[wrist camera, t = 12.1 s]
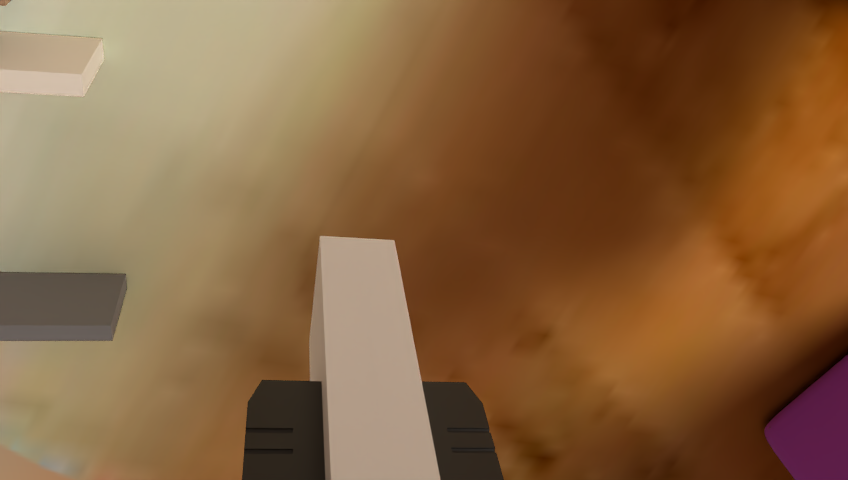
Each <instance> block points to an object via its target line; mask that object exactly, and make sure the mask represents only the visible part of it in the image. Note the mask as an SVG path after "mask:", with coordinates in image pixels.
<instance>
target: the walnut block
mask: <svg viewBox="0 0 848 480" xmlns="http://www.w3.org/2000/svg"><path fill="white" fill-rule="evenodd" d="M10 1H11V0H0V5H2V6H6V5H7V4H8V3H9V2H10Z"/></svg>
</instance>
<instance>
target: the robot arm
mask: <svg viewBox="0 0 848 480" xmlns="http://www.w3.org/2000/svg"><path fill="white" fill-rule="evenodd" d="M309 355H310V381H281V380H262V381H261V383H260V384H259V386H258V387H257V389H256V390H255V392H254V394H253V395H252V397H251V398H250V400H249V401H248V408H247V421H246V435H245V448H244V462H243V476H242V480H504V479H503V476H502V472H501V468H500V465H499V461H498V458H497V454H496V453H495V447H494V443H493V439H492V436H491V433H489V425H488V421H487V418H486V414H485V411H484V407H483V404H482V402H481V401H480V400H479V399H478V397H477V396H476V395H475V394H474V393H473V391H472V390H471V389H470V388H469V386H468V385H467V384H466V383H464V382H422V381H421V376H420V371H419V365H418V360H417V355H416V350H415V345H414V339H413V334H412V329H411V324H410V319H409V313H408V308H407V303H406V298H405V293H404V287H403V282H402V277H401V272H400V267H399V261H398V256H397V251H396V246H395V240H383V239H366V238H349V237H332V236H320V240H319V250H318V260H317V270H316V280H315V289H314V299H313V309H312V319H311V328H310V338H309Z"/></svg>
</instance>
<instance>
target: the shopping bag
mask: <svg viewBox="0 0 848 480" xmlns="http://www.w3.org/2000/svg"><path fill="white" fill-rule="evenodd" d="M764 432H765V437H766V439H767V441H768V443H769V444H770V446H771V448H772V449H773V451H774V452H775V453H776V455H777V456H778V458H779V459H780V460H781V462H782V463H783V464H784V466H785V467H786V468H787V470H788V471H789V472H790V474H791V475H792V477H793V478H794V479H795V480H848V354H847V355H846V356H845V357H844V358H843V359H841V360H840V361H839V362H838V363H837V364H836V365H834V366H833V367H832V368H831V369H830V370H829V371H827V372H826V373H825V374H824V375H823V376H821V377H820V378H819V379H818V380H817V381H816V382H814V383H813V384H812V385H811V386H810V387H808V388H807V389H806V390H805V391H804V392H803V393H801V394H800V395H799V396H798V397H797V398H796V399H794V400H793V401H792V402H791V403H790V404H788V405H787V406H786V407H785V408H784V409H783V410H782V411H780V412H779V413H778V414H777V415H776V416H775V417H774V418H773V419H772V420H771V421H770V422H769V423H768V424H767V425H766V427H765V430H764Z"/></svg>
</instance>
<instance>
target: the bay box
mask: <svg viewBox="0 0 848 480" xmlns="http://www.w3.org/2000/svg"><path fill="white" fill-rule="evenodd" d="M103 61H104V51H103V40H102V38H89V37H75V36H61V35H47V34H33V33H19V32H5V31H0V92H8V93H25V94H43V95H60V96H78V97H84V96H85V94H86V92H87V90H88V89H89V87H90V85H91V83H92V81H93V79H94V77H95V76H96V74H97V72H98V70H99V68H100V66H101V64H102V63H103ZM126 290H127V284H126V274H90V273H20V272H0V341H113V337H114V333H115V330H116V326H117V323H118V319H119V315H120V312H121V308H122V305H123V301H124V297H125V294H126Z"/></svg>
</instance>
